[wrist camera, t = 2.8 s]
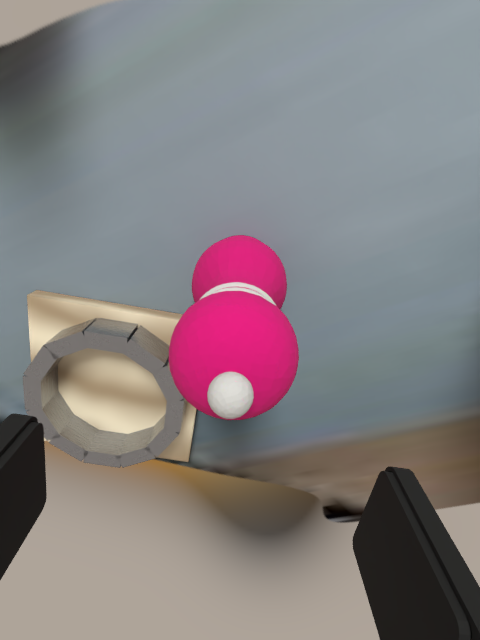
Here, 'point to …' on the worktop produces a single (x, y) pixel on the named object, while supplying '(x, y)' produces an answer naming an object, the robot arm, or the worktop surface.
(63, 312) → the birch board
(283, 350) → the pepper mill
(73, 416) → the steel ring collar
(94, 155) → the worktop surface
